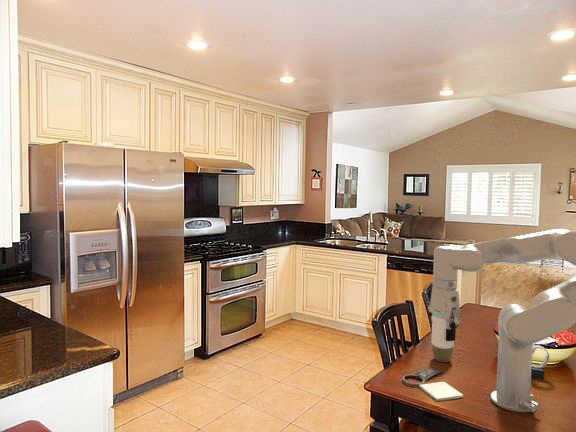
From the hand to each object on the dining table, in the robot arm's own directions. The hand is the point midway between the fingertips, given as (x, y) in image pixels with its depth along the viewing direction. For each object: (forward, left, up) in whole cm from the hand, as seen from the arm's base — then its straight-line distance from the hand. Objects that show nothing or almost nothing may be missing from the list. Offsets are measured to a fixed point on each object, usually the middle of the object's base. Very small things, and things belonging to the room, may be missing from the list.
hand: (442, 336), depth 140 cm
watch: (+3, -43, -19) cm, 47 cm away
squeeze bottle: (+24, -18, -19) cm, 36 cm away
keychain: (+11, 0, -20) cm, 23 cm away
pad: (0, 0, -19) cm, 19 cm away
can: (0, 0, -4) cm, 4 cm away
